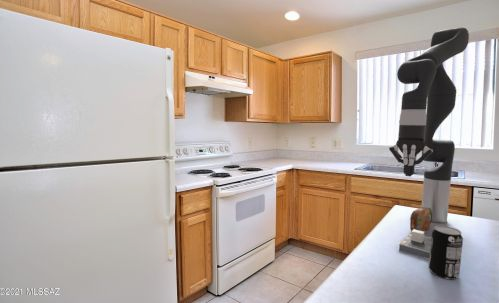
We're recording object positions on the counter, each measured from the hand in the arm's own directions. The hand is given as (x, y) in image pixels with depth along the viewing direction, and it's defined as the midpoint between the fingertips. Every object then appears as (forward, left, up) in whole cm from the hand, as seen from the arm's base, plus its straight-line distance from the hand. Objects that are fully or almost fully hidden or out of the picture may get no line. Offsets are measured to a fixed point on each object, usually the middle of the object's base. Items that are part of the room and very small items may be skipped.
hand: (408, 175), depth 92 cm
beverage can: (+17, +14, -22) cm, 31 cm away
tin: (-13, +2, -22) cm, 26 cm away
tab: (+4, +5, -20) cm, 21 cm away
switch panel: (+4, +7, -22) cm, 24 cm away
